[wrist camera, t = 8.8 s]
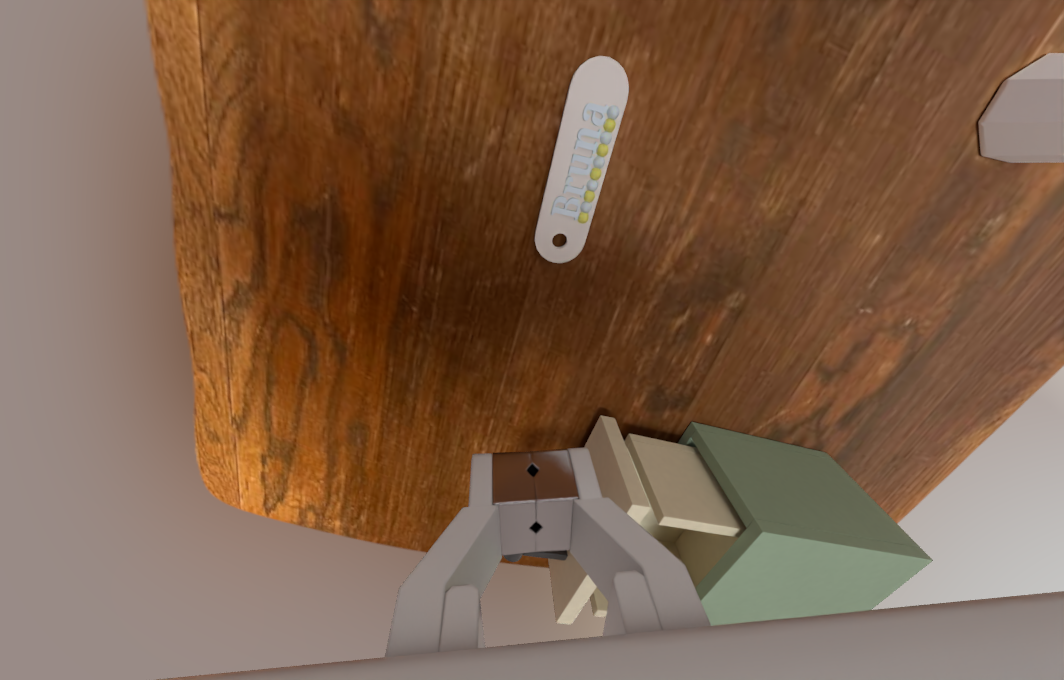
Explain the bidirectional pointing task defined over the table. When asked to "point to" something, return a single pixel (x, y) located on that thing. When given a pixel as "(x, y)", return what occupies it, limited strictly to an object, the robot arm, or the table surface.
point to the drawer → (649, 510)
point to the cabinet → (797, 534)
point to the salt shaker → (1027, 115)
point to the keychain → (581, 156)
